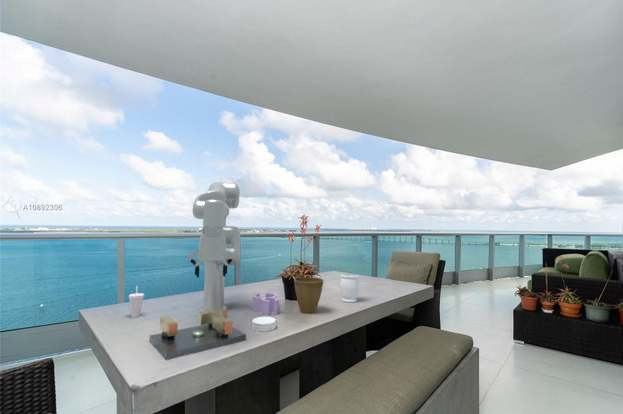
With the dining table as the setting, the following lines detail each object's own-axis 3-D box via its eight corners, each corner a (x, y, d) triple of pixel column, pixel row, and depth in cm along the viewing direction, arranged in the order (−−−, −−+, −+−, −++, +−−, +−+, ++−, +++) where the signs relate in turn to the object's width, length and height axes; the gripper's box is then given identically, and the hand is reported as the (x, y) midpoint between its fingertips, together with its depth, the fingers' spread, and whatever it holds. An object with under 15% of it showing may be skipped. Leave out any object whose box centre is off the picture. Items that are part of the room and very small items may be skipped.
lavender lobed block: (284, 314, 152) (284, 299, 152) (259, 316, 147) (259, 301, 147) (272, 304, 170) (272, 291, 170) (249, 306, 165) (249, 293, 165)
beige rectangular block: (201, 329, 120) (202, 315, 121) (197, 326, 124) (197, 312, 124) (228, 323, 128) (228, 310, 128) (223, 321, 131) (223, 308, 131)
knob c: (210, 331, 119) (210, 316, 119) (220, 328, 122) (221, 314, 122) (222, 339, 110) (223, 323, 111) (234, 336, 113) (234, 321, 114)
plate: (149, 341, 113) (149, 332, 113) (222, 326, 131) (222, 318, 132) (166, 359, 98) (166, 349, 98) (245, 339, 116) (246, 331, 116)
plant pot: (289, 314, 152) (290, 280, 153) (298, 306, 166) (298, 276, 167) (319, 316, 148) (320, 282, 149) (325, 308, 162) (326, 277, 163)
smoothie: (126, 318, 139) (128, 286, 140) (127, 315, 144) (129, 284, 145) (143, 317, 142) (144, 285, 143) (143, 313, 147) (145, 283, 148)
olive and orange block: (157, 332, 116) (158, 317, 116) (169, 330, 119) (170, 315, 119) (166, 341, 108) (167, 325, 108) (179, 338, 110) (180, 322, 111)
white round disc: (259, 323, 137) (260, 315, 137) (280, 326, 134) (280, 318, 134) (247, 330, 128) (247, 321, 128) (268, 333, 124) (268, 324, 125)
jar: (339, 302, 177) (340, 275, 178) (341, 298, 187) (341, 273, 188) (358, 303, 175) (358, 276, 176) (358, 299, 186) (359, 273, 187)
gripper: (189, 231, 114) (186, 278, 113) (237, 232, 121) (235, 276, 120) (188, 231, 121) (186, 276, 120) (234, 232, 128) (232, 274, 127)
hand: (211, 276), depth 120 cm, fingers open, 9 cm apart
